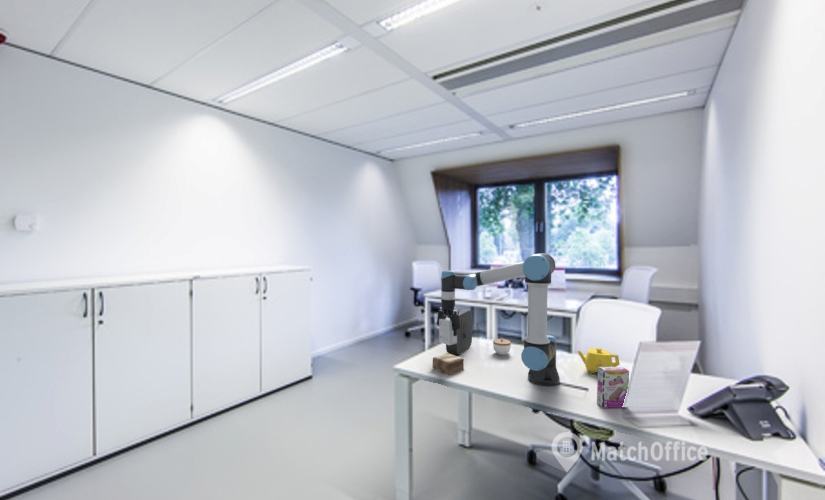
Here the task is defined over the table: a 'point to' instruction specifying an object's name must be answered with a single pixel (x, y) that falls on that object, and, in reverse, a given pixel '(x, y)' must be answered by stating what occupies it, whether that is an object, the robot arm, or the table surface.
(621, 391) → the candy bar box
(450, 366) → the brown square box
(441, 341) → the small box
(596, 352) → the teapot
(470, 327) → the speaker
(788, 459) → the table surface
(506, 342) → the lidded jar
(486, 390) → the table surface
